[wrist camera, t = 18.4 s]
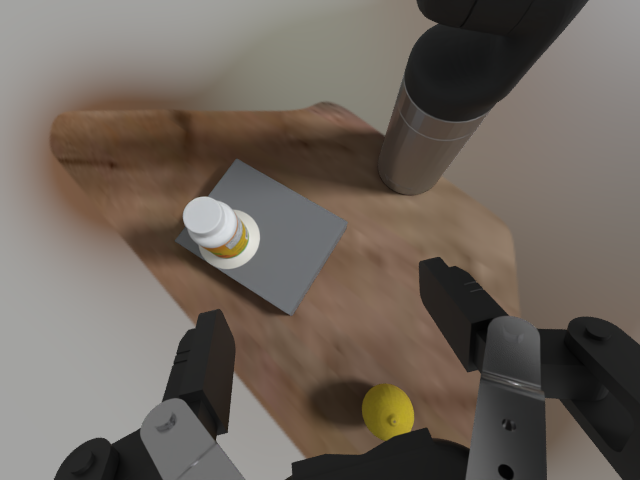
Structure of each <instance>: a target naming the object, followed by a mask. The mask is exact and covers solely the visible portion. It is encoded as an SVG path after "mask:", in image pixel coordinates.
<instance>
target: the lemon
mask: <svg viewBox="0 0 640 480" xmlns="http://www.w3.org/2000/svg"><path fill="white" fill-rule="evenodd" d="M362 415H363V418H364V422H365V424H366V426H367V427H368V429H369V430H370V431H371V432H372V433H373V434H374V435H375V436H376V437H378V438H379V439H381V440H384V441H387V440H388V439H390V438H392V437H394V436H396V435H400V434H404V433H408V432H410V430H411V429H412V426H413V422H414V411H413V407H412V404H411V402H410V400H409V398H408V396H407V395H406V394H405V393H404V392H403V391H402V390H401V389H399V388H398V387H396V386H394V385H391V384H379V385H376V386H374V387H372V388H371V389H370V390H369V391H368V392H367V394H366V395H365V397H364V400H363V404H362Z"/></svg>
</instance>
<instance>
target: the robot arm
mask: <svg viewBox="0 0 640 480" xmlns="http://www.w3.org/2000/svg"><path fill="white" fill-rule="evenodd" d="M587 2H588V0H417V4H418V7H419V9H420V11H421V12H422V14H423V15H424V16H425V17H426V18H428V19H430V20H432V21H434V22H436V23H439V24H437V25H435V26H433V27H432V28H430V29H429V30H427V31H426V32H425V33H424V34H423V35H422V36H421V37H420V38H419V39H418V40H417V42H416V43H415V45H414V47H413V49H412V51H411V53H410V56H409V59H408V62H407V66H406V69H405V72H404V76H403V79H402V82H401V85H400V89H399V93H398V96H397V99H396V102H395V106H394V109H393V112H392V116H391V119H390V122H389V126H388V129H387V132H386V135H385V139H384V142H383V145H382V148H381V152H380V155H379V158H378V172H379V174H380V177H381V179H382V180H383V182H384V183H385V184H386V185H387V186H388V187H389V188H391V189H392V190H394V191H396V192H398V193H401V194H406V195H416V194H421V193H424V192H426V191H428V190H429V189H431V188H432V187H433V186H434V185H435V184H436V182H437V181H438V180H439V178H440V177H441V176H442V174H443V173H444V172H445V171H446V169H447V168H448V167H449V165H450V164H451V162H452V161H453V160H454V159H455V157H456V156H457V155H458V153H459V152H460V151H461V149H462V148H463V146H464V145H465V144H466V143H467V141H468V140H469V139H470V137H471V136H472V135H473V133H474V132H475V131H476V129H477V128H478V127H479V125H480V124H481V123H482V121H483V119H484V118H485V117H486V115H487V114H488V113H489V112H490V110H491V109H492V108H493V107H494V105H495V104H496V103H497V102H499V101H500V100H502V99H503V98H504V97H506V96H507V95H508V94H509V93H510V91H511V90H512V89H513V88H514V87H515V86H516V84H517V83H518V82H519V81H520V80H521V78H522V77H523V76H524V75H525V74H526V72H527V71H528V70H529V69H530V68H531V67H532V66H533V64H534V63H535V62H536V61H537V60H538V59H539V58H540V57H541V55H542V54H543V53H544V52H545V51H546V50H547V49H548V47H549V46H550V45H551V44H552V43H553V42H554V41H555V40H556V39H557V37H558V36H559V35H560V34H561V33H562V32H563V31H564V30H565V28H566V27H567V26H568V24H570V22H571V21H572V20H573V19H574V18H575V16H576V15H577V14H578V13H579V12H580V10H581V9H582V8H583V7H584V6H585V4H586V3H587ZM419 283H420V296H421V299H422V302H423V304H424V306H425V308H426V309H427V311H428V312H429V314H430V315H431V317H432V318H433V320H434V322H435V323H436V325H437V326H438V328H439V329H440V331H441V332H442V334H443V335H444V337H445V339H446V340H447V342H448V343H449V345H450V346H451V348H452V349H453V351H454V352H455V354H456V356H457V357H458V359H459V360H460V362H461V363H462V365H463V366H464V368H465V369H466V371H467V373H468V372H471V371H475V370H479V372H480V373H481V378H480V385H479V391H478V398H477V405H476V412H475V419H474V425H473V432H472V439H471V446H470V449H469V448H467V447H465V446H463V445H461V444H458V443H456V442H452V441H449V440H444V439H438V438H432V437H431V435H430V433H429V430H428V428H423V429H419V430H415V431H412V432H408V433H404V434H400V435H396V436H394V437H392V438H390V439H388V440H387V441H385V442H383V443H382V444H380V445H378V446H377V447H375V448H373V449H372V450H370V451H368V452H367V453H365V454H362V455H342V454H324V455H320V456H316V457H312V458H308V459H305V460H301V461H297V462H293V463H292V476H290V477H288V478H287V479H285V480H547V464H546V422H545V398H556V399H560V401H561V402H562V403H563V405H564V406H565V407H566V408H567V410H568V411H569V412H570V414H571V415H572V416H573V417H574V419H575V420H576V421H577V422H578V424H579V425H580V426H581V428H582V429H583V430H584V431H585V433H586V434H587V435H588V436H589V438H590V439H591V440H592V441H593V443H594V444H595V445H596V447H597V448H598V449H599V450H600V452H601V453H602V454H603V455H604V457H605V458H606V459H607V460H608V462H609V463H610V464H611V466H612V467H613V468H614V469H615V471H616V472H617V473H618V474H619V476H620V477H621V478H622V480H640V345H639V344H638V343H637V342H636V341H634V340H633V339H632V338H631V337H630V336H628V335H627V334H626V333H625V332H624V331H622V330H621V329H620V328H618V327H617V326H616V325H614V324H612V323H610V322H608V321H605V320H602V319H599V318H594V317H578V318H575V319H573V320H572V321H570V323H569V325H568V328H567V330H562V329H537V328H535V327H534V326H533V325H532V324H531V323H529V322H527V321H525V320H523V319H521V318H518V317H513V316H509V315H508V314H507V313H506V312H505V311H504V310H503V309H502V308H501V307H500V306H499V305H498V304H497V303H496V302H495V300H494V299H493V298H492V297H491V296H490V295H489V294H488V293H487V292H486V291H485V290H483V288H482V287H481V286H480V285H479V284H478V283H476V281H475V279H474V278H473V277H472V276H471V275H470V274H469V273H468V272H466V271H464V270H462V269H460V268H458V267H456V266H453V267H448V266H447V265H446V263H445V262H444V261H443V260H442V259H441V258H440V257H436V258H431V259H427V260H423V261H420V262H419ZM234 362H235V342H234V338H233V335H232V333H231V331H230V328H229V326H228V324H227V322H226V319H225V317H224V315H223V313H222V311H221V310H220V309H217V310H213V311H208V312H204V313H200V314H199V316H198V320H197V324H196V328H194V329H191V330H188V331H187V333H186V334H185V335H184V337H183V338H182V339H181V341H180V343H179V346H178V350H177V355H176V356H175V360H174V365H173V366H172V370H171V373H170V376H169V380H168V383H167V387H166V390H165V393H164V397H163V400H162V403H160V404H159V405H157V406H156V407H155V408H154V409H152V410H151V411H150V413H149V414H148V415H147V416H146V418H145V419H144V421H143V423H142V426H141V428H140V429H138V430H137V431H135V432H133V433H131V434H129V435H128V436H126V437H124V438H122V439H120V440H118V441H117V442H115V443H113V444H110V442H109V441H108V440H106V439H105V438H95V439H92V440H89V441H87V442H85V443H83V444H82V445H80V446H79V447H78V448H76V449H75V450H74V451H73V452H72V453H70V455H69V456H68V457H67V458H66V459H65V460H64V462H63V463H62V464H61V466H60V468H59V470H58V471H57V474H56V476H55V478H54V480H245V479H244V477H243V476H242V474H241V473H240V472H239V470H238V469H237V468H236V467H235V465H234V464H233V463H232V461H231V460H230V459H229V457H228V456H227V455H226V454H225V452H224V451H223V450H222V448H221V447H220V445H219V444H218V443H217V442H216V436H217V435H221V434H225V433H228V423H229V413H230V403H231V393H232V383H233V372H234Z"/></svg>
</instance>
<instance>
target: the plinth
mask: <svg viewBox="0 0 640 480" xmlns="http://www.w3.org/2000/svg"><path fill="white" fill-rule="evenodd" d="M208 197H210V198H212V199H214V200H216V201H220V202H223V203H225V204H227V205H228V206H229V207H230V208H231V209H232V210H233V211H234V212H235V213H236V215H237V216H238V217H239V218H240V220H241V221H242V222H243V223H244V224H245V226H246V227H247V229H248V232H249V243H248V246H247V248H246V249H245V251H244V252H243V253H242V254H241V255H239V256H237V257H235V258H232V259H222V258H219V257H217V256H215V255H214V254H212V253H211V252H209V251H207V250H206V249H204V248H203V247H201V246H200V245H198V244H197V243H196V242H194V241H193V239H192V238H191V237H190V235H189V233H188V229H187V227H186V226H185V228H184V229H183V230H182V232H181V233H180V234H179V236H178V237H177V238H176V240H175V242H177V243H178V244H180V245H181V246H183V247H185V248H186V249H188V250H189V251H191V252H192V253H194V254H195V255H197V256H199V257H200V258H202V259H203V260H205V261H206V262H208V263H209V264H211V265H213V266H214V267H216V268H217V269H219V270H220V271H222V272H223V273H225V274H227V275H228V276H230V277H231V278H233V279H234V280H236V281H237V282H239V283H241V284H242V285H244V286H245V287H247V288H248V289H250V290H251V291H253V292H255V293H256V294H258V295H259V296H261V297H262V298H264V299H266V300H267V301H269V302H270V303H272V304H273V305H275V306H276V307H278V308H280V309H281V310H283V311H284V312H286V313H287V314H289V315H291V316H292V315H293V314H294V312H295V311H296V309H297V307H298V306H299V304H300V302H301V301H302V299H303V298H304V296H305V294H306V293H307V291H308V290H309V288H310V286H311V285H312V283H313V282H314V280H315V278H316V277H317V275H318V273H319V272H320V270H321V269H322V267H323V265H324V264H325V262H326V261H327V259H328V257H329V256H330V254H331V253H332V251H333V249H334V248H335V246H336V244H337V243H338V241H339V240H340V238H341V236H342V235H343V233H344V232H345V230H346V228H347V223H348V222H347V221H345V220H343V219H342V218H340V217H338V216H336V215H335V214H333V213H331V212H329V211H328V210H326V209H324V208H322V207H321V206H319V205H317V204H315V203H314V202H312V201H310V200H308V199H307V198H305V197H303V196H301V195H300V194H298V193H296V192H294V191H293V190H291V189H289V188H287V187H286V186H284V185H282V184H280V183H279V182H277V181H275V180H273V179H272V178H270V177H268V176H266V175H265V174H263V173H261V172H259V171H258V170H256V169H254V168H252V167H251V166H249V165H247V164H245V163H244V162H242V161H240V160H238V159H237V158H236V160H235V161H234V162H233V164H232V165H231V166H230V168H229V169H228V170H227V172H226V173H225V174H224V176H223V177H222V178H221V180H220V181H219V182H218V184H217V185H216V186H215V188H214V189H213V190H212V192H211V193H210V194H209V196H208Z"/></svg>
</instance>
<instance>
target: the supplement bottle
mask: <svg viewBox="0 0 640 480" xmlns="http://www.w3.org/2000/svg"><path fill="white" fill-rule="evenodd" d="M183 221H184V224H185V226H186V227H187V229H188V233H189V235H190V237H191V238H192V239H193V241H194V242H196V243H197V244H198V245H200V246H201V247H203V248H204V249H206V250H207V251H209V252H211V253H212V254H214V255H215V256H217V257H219V258H222V259H232V258H235V257H237V256H239V255H241V254H242V253H243V252H244V251H245V249H246V248H247V246H248V243H249V232H248V229H247V227H246V226H245V224H244V223H243V222H242V221H241V220H240V218H239V217H238V216H237V215H236V213H235V212H234V211H233V210H232V209H231V208H230V207H229V206H228V205H227V204H225V203H223V202H220V201H216V200H214V199H212V198H210V197H198V198H195V199H194V200H192V201H191V202H189V203H188V204H187V206H186V207H185V209H184V212H183Z"/></svg>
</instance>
